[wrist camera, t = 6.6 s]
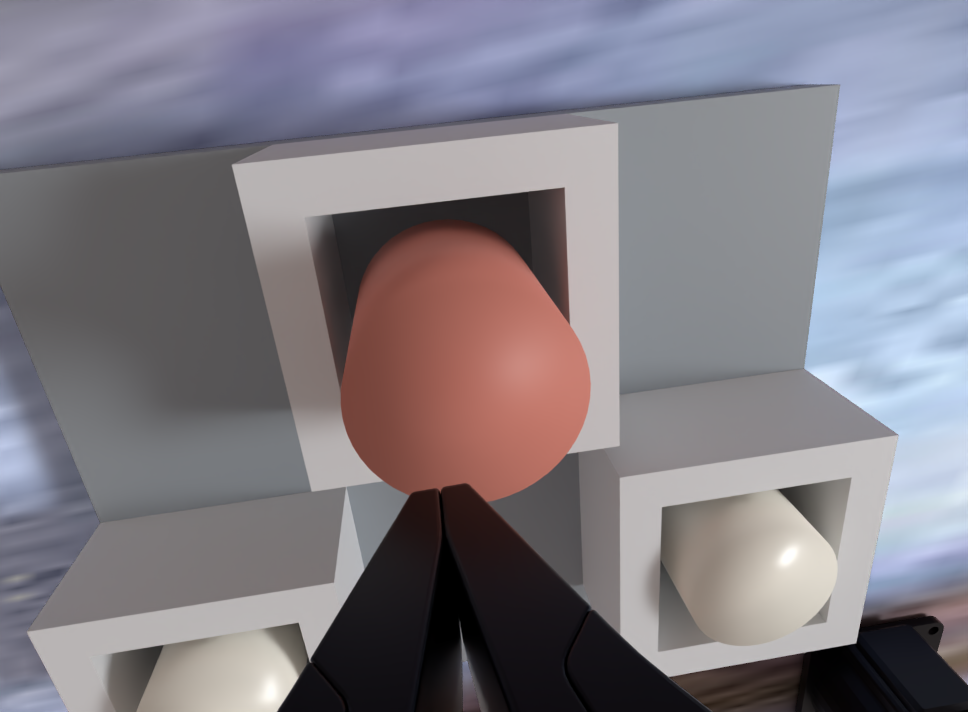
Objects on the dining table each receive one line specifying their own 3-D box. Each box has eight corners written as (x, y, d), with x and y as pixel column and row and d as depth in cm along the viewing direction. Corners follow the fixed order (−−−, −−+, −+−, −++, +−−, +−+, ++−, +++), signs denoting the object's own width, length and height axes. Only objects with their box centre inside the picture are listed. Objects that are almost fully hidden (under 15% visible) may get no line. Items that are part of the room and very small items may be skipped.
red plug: (539, 376, 17) (593, 485, 12) (373, 399, 16) (364, 521, 12) (529, 209, 15) (588, 263, 10) (342, 231, 15) (317, 298, 10)
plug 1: (326, 637, 23) (309, 772, 19) (204, 658, 23) (157, 800, 18) (301, 543, 22) (276, 667, 17) (169, 564, 21) (107, 695, 17)
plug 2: (744, 527, 24) (827, 632, 19) (631, 545, 23) (688, 656, 19) (754, 426, 22) (847, 515, 17) (631, 444, 22) (694, 540, 17)
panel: (755, 582, 28) (843, 705, 22) (190, 677, 26) (134, 838, 20) (808, 84, 19) (970, 85, 14) (-11, 170, 18) (-195, 211, 12)
